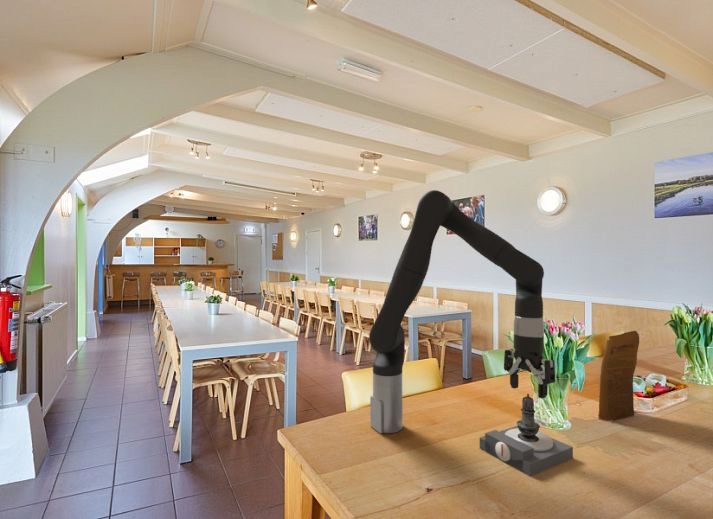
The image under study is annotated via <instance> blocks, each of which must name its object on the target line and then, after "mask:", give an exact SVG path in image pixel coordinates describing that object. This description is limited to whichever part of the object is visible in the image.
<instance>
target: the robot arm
mask: <svg viewBox="0 0 713 519" xmlns="http://www.w3.org/2000/svg"><path fill="white" fill-rule="evenodd" d="M412 222H413V223H412V227H411V230H410V233H409V235H408V236H407V237H408V238H407V240H406V241H405V245H404V246H403V249H402V252H401V254H400V257H399V259H398V261H397V264H396V266H395V269H394V272H393V274H392V278H391V281H390V283H389V286H388V289H387V292H386V294H385V298H384V301H383V304H382V305H381V308H380V311H379V312H378V315H377V316H376V319H375V320H374V323H373V325H372V326H371V329H370V331H369V335H368V340H369V344H370V347H371V348H372V350H374V352H376V354H375V355H376V356H375V358H374V361H373V364H372V395H370V396H369V397H370V407H369V409H370V427H371V428H373V430H375V431H377V433H379V434H394V433H398V432H400V431H401V430H403V425H404V424H403V422H404V421H403V420H404V418H403V416H404V414H403V413H404V412H403V411H404V409H403V401H404V400H403V366H404V362H405V348H406V347H405V344H406V343H405V341H406V337H405V331H404V328H403V326H402V322H403V319H404V317H405V315H406V313H407V311H408V310H409V308H410V307H411V305H412V303H413V302H414V300H415V299H416V298H417V296H418V294H419V293H420V290H421V289H422V286H423V284H424V282H425V279H426V277H427V274H428V271H429V267H430V262H431V257H432V256H431V255H432V250H433V246H434V245H433V244H434V241H435V239H436V237H437V233H438V232H439V228H440V227H443V228H445V229H447V230H448V231H451V232H452V233H453V234H454V235H455V234H456V235H457V237H459V238H460V239H462V240H463V241H464V242H465V243H467V244H468V245H469V246H470V247H471V248H472V249H474V251H476V252H477V253H479V254H480V255H481V256H483V258H485V259H487V260H488V261H490V262H491V263H492V264H494V265H495V266H497V267H499V268H501V269H502V270H503V271H504V272H506V273H507V274H508V275H509V276H511V277H512V278H513V279H514V280H515V300H514V320H513V349H512V348H510V349H505V350H504V357H503V359H504V360H503V370H504V371H507V372H508V373H509V384H510V387H511V388H512V389H518V388H519V372H520V371H521V370H522V371H527V372H529V373H532V375H533V377H535V378H536V380H537V381H538V383H537V384H538V385H537V386H538V387H537V393H538V394H537V396H538V398H539V399H541V400H542V399H545V398H546V397H547V396H548V385H549V384H554V383H556V369H555V368H556V366H555V363H556V362H555V359H552V358H551V359H547V358H544V356H543V354H544V350H545V332H544V331H545V324H544V301H543V294H542V293H543V279H544V275H545V270H544V268H543V265H542V264H541V263H539V261H537V260H536V259H534V258H532V257H531V256H529V255H527V254H525V253H523V252H522V251H520V250H519V249H517V248H516V247H515V246H514V245H513V244H511V243H510V242H508V240H506V239H504V238H503V237H501V236H500V235H498V234H497V233H495V232H494V231H492V230H491V229H489V228H487V227H485V226H484V225H482V224H480V222H477V221H476V220H474V219H472V218H471V217H469V215H467V214H465V212H463V211H462V210H461V209H460V208H459V207H458V206H457V205H456V204H455V203H454V202H453V201H452V199H450V197H449V196H448V195H446V194H445V193H444V192H442V191H439V190H436V189H435V190H434V189H433V190H429V191H428V192H426V193H423V195H422V196H421V197H420V199H419V201H418V203H417V207H416V211H415V214H414V219H413V221H412ZM514 359H515V362H514Z"/></svg>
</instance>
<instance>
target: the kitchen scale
mask: <svg viewBox="0 0 713 519" xmlns="http://www.w3.org/2000/svg"><path fill="white" fill-rule="evenodd" d="M520 433H521V432H520V431H519V429H518V425H516V426H512V427H509V428H506V429H503V430H496V429H494V430H491V431H487V432H485V433H484V435H483V436H480V437H479V450H482V451H483V452H485V453H487V454H489V455H490V456H493V457H495V458H496V459H498V460H499V461H502V462H503V463H506V464H507V465H509V466H511V467H513V468H514V469H516V470H518V471H520V473H521V472H522V473H523V474H525V475H527V476H528V477H531V476H535V475H537V474H539V473H541V472H544V471H547V470H548V469H549V470H550V469H551V468H553V467H556V466H559V465H561V464H563V463H565V462H568V461H570V460H573V458H574V453H573V452H574V447H573V446H571V445H569V444H566V443H564V442H562V441H559V440H557V439H555V438H552V437H551V436H550V435H547V434H546V433H543V432H541V431H540V430H539V431H538V433H537V434H536V436H537V437H538V438H539V441H537V442H526V441H523V440H521V439H519V438H518V434H520Z"/></svg>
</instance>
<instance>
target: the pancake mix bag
mask: <svg viewBox="0 0 713 519" xmlns="http://www.w3.org/2000/svg"><path fill="white" fill-rule="evenodd" d="M639 345H640V334H639V333H638V331H637V330H632V331H627V332H623V333H620V334H614V335H611V336H608V339H606V344H605V348H604V352H603V356H602V360H601V365H600V366H601V367H600V376H599V397H598V419H599V420H603V421H617V420H620V419H621V420H622V419H625V418H630V417H634V416H635V407H634V405H635V403H634V375H635V371H636V368H637V363H638V361H637V360H638V352H639Z"/></svg>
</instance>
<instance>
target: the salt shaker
mask: <svg viewBox="0 0 713 519" xmlns="http://www.w3.org/2000/svg"><path fill="white" fill-rule="evenodd" d="M534 403H535V400H534V398H532V397H531V396H530V394H529V393H527V394H526V396H523V397H522V400H521V405H522V408H521V409H520V411H521V419H520V420H518V421H516V426H518V429H519V431H520V432H521V433H520V434H518V438H519V439H521V440H523V441H526V442H537V441H539V438H538V437H537V436H536V434H537V433H538V431H539V432H540V430H539V429H541V426H540V424H539V423H538V422H536V420H535V413H536V410H535V404H534Z"/></svg>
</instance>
